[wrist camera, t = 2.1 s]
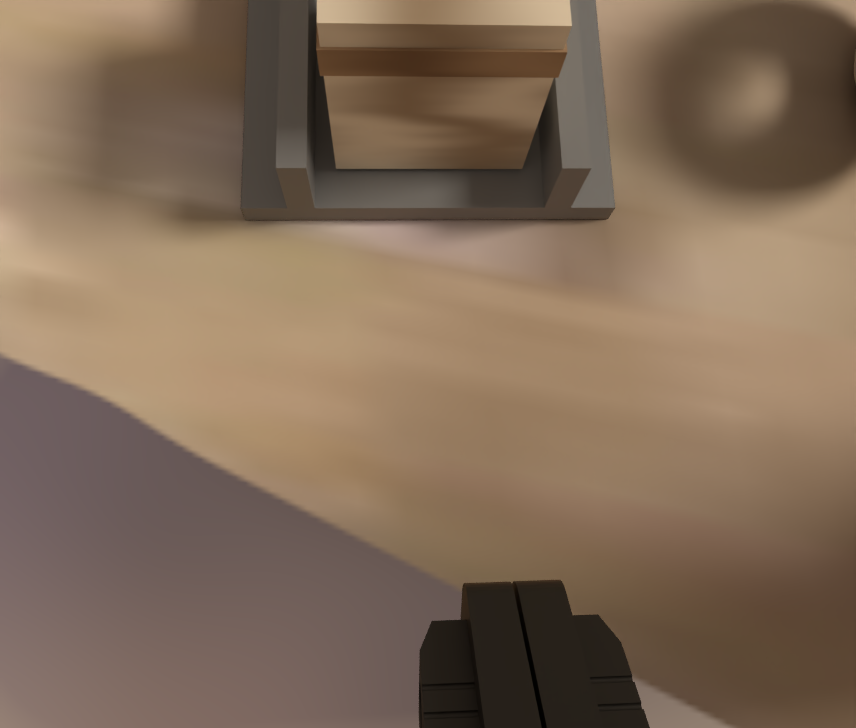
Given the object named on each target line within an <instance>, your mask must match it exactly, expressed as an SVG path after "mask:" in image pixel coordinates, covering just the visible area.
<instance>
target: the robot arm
mask: <svg viewBox="0 0 856 728" xmlns="http://www.w3.org/2000/svg"><path fill="white" fill-rule="evenodd" d="M419 668H420V669H419V671H420V673H419V727H420V728H650V727H649V724H648V721H647V718H646V715H645V713H644V710H643V709H642V707H641V700H640V698H639V695H638V692H637V689H636V685H635V682H633V681H632V674H631V671H630V668H629V665H628V662H627V659H626V656H625V653H624V650H623V647H622V644H621V642H620V641H619V639H618V638H617V637H616V636H615V635H614V633H613V632H612V631H611V630H610V628H609V627H608V626H607V625H606V624H605V622H604V621H603V620H602V619H601V618H600V616H599V615H574V616H572V612H571V609H570V605H569V601H568V598H567V594H566V591H565V588H564V585H563V583H562V581H561V580H539V581H513V583H512V584H511V582H488V583H464V584H463V589H462V607H461V620H446V621H432V622H431V624H430V627H429V629H428V632H427V634H426V637H425V639H424V642H423V644H422V647H421V649H420V667H419Z"/></svg>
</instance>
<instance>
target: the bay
mask: <svg viewBox="0 0 856 728" xmlns="http://www.w3.org/2000/svg"><path fill="white" fill-rule="evenodd" d="M570 9H571V21H572V27H571V30H570V33H569V36H568V39H567V55H566V58H565V61H564V63H563V66H562V69H561V72H560V75H559V77H558V78H554V79H553V82H552V85H551V88H550V90H549V93H548V96H547V99H546V102H545V105H544V108H543V110H542V113H541V116H540V119H539V122H538V125H537V128H536V131H535V133H534V136H533V139H532V142H531V145H530V148H529V151H528V154H527V156H526V159H525V162H524V165H523V168H522V169H336V164H335V157H334V149H333V142H332V134H331V127H330V119H329V112H328V104H327V97H326V89H325V82H324V76H320V73H319V65H318V58H317V51H316V32H317V0H248V21H247V48H246V76H245V104H244V132H243V160H242V188H241V210H242V213H243V215H244V217H245V220H431V219H608V218H609V216H610V215H611V213H612V212H613V210H614V209H615V201H614V190H613V180H612V169H611V159H610V148H609V137H608V127H607V116H606V106H605V95H604V85H603V74H602V64H601V53H600V43H599V32H598V22H597V11H596V1H595V0H570Z"/></svg>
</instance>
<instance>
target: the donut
mask: <svg viewBox="0 0 856 728" xmlns="http://www.w3.org/2000/svg"><path fill="white" fill-rule="evenodd" d="M854 77H855V84H856V51H855V62H854Z"/></svg>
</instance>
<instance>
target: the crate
mask: <svg viewBox="0 0 856 728" xmlns="http://www.w3.org/2000/svg"><path fill="white" fill-rule="evenodd" d="M571 27H572V21H571V9H570V0H317V32H316V51H317V58H318V65H319V73H320V76H324V82H325V89H326V97H327V104H328V112H329V119H330V127H331V134H332V142H333V149H334V157H335V164H336V169H522V168H523V165H524V162H525V159H526V156H527V154H528V151H529V148H530V145H531V142H532V139H533V136H534V133H535V131H536V128H537V125H538V122H539V119H540V116H541V113H542V110H543V108H544V105H545V102H546V99H547V96H548V93H549V90H550V88H551V85H552V82H553V79H554V78H558V77H559V75H560V72H561V69H562V66H563V63H564V61H565V58H566V55H567V39H568V36H569V33H570V30H571Z"/></svg>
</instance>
